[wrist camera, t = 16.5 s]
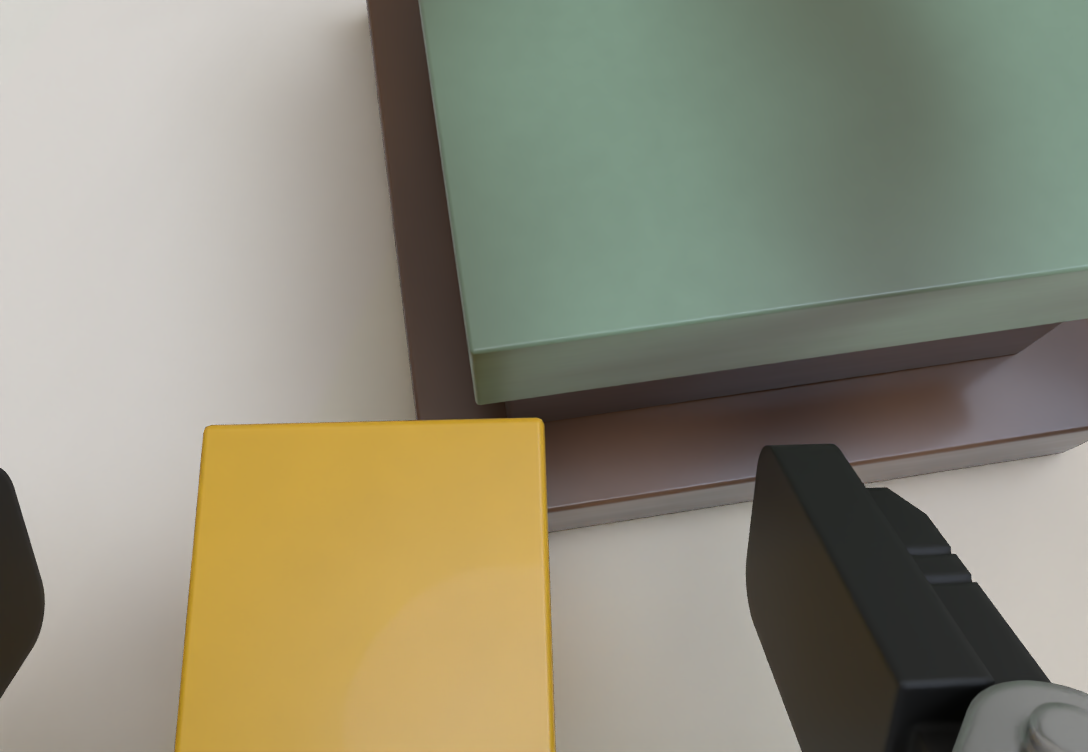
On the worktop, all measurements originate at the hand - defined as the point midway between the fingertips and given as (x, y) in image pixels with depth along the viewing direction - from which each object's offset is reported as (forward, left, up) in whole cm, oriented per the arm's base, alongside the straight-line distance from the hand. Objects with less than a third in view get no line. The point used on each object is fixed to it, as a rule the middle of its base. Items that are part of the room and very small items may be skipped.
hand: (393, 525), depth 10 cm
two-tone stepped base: (+4, +8, -7) cm, 11 cm away
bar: (0, -1, -7) cm, 7 cm away
